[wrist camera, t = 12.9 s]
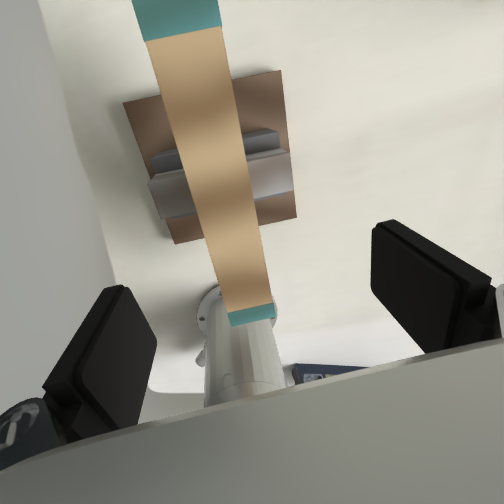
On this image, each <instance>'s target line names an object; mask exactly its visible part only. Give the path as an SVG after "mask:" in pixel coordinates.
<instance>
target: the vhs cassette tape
mask: <svg viewBox="0 0 504 504" xmlns="http://www.w3.org/2000/svg"><path fill="white" fill-rule="evenodd" d="M365 368H369V367H357V366H338V365H320V364H298V363H296V364H295V366H294V368H293V371H292V374H293V378H294V381H295V385H299V384H303V383H307V382H311V381H315V380H319V379H323V378H327V377H331V376H336V375H340V374H344V373H348V372H352V371H356V370H361V369H365Z"/></svg>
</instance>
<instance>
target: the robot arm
mask: <svg viewBox="0 0 504 504" xmlns="http://www.w3.org/2000/svg"><path fill="white" fill-rule="evenodd" d="M491 279H492V278H491V277H490V276H488V275H486V274H485V273H483V272H481V271H480V270H478V269H476V268H475V267H473V266H471V265H470V264H468V263H466V262H465V261H463V260H461V259H460V258H458V257H456V256H455V255H453V254H451V253H450V252H448V251H446V250H445V249H443V248H441V247H440V246H438V245H436V244H435V243H433V242H431V241H430V240H428V239H426V238H425V237H423V236H421V235H420V234H418V233H416V232H415V231H413V230H411V229H410V228H408V227H406V226H405V225H403V224H401V223H400V222H398V221H396V220H394V219H393V220H388V221H384V222H380V223H377V224H376V227H375V228H373V229H372V242H371V290H372V292H373V294H374V295H375V296H376V297H377V298H378V300H379V301H380V302H381V303H382V304H383V305H384V306H385V308H386V309H387V310H388V311H389V312H390V313H391V315H392V316H393V317H394V318H395V319H396V320H397V321H398V323H399V324H400V325H401V326H402V327H403V328H404V330H405V331H406V332H407V333H408V334H409V335H410V336H411V338H412V339H413V340H414V341H415V342H416V343H417V344H418V346H419V347H420V348H421V349H422V350H423V351H424V353H425V354H423V355H419V356H415V357H411V358H407V359H402V360H398V361H394V362H390V363H386V364H381V365H377V366H373V367H369V368H365V369H361V370H356V371H352V372H348V373H344V374H340V375H336V376H331V377H327V378H323V379H319V380H315V381H311V382H307V383H303V384H299V385H295V386H291V387H287V384H286V380H285V376H284V372H283V368H282V364H281V361H280V357H279V353H278V349H277V345H276V341H275V338H274V334H273V330H272V328H273V327H274V325H275V322H276V319H277V306H276V303H275V300H274V298H273V297H272V299H273V303H274V308H275V313H276V317H273V318H268V319H264V320H259V321H255V322H251V323H246V324H242V325H237V326H233V327H231V325H230V322H229V318H228V315H227V309H226V306H225V303H224V300H223V296H222V293H221V290H220V286H218V287H216V288H214V289H212V290H211V291H210V292H208V293H207V294H206V295H205V296H204V298H203V299H202V300H201V302H200V304H199V307H198V310H197V323H198V326H199V329H200V330H201V332H202V333H203V335H205V336H206V343H205V345H204V349H203V350H202V351H201V353H200V354H199V355H198V356H197V358H196V363H197V365H198V366H200V367H204V366H205V386H204V408H202V409H198V410H194V411H190V412H186V413H182V414H178V415H174V416H170V417H166V418H162V419H158V420H154V421H150V422H146V423H142V424H138V419H139V416H140V412H141V407H142V404H143V400H144V396H145V392H146V388H147V384H148V380H149V376H150V372H151V368H152V364H153V360H154V356H155V351H156V347H157V340H156V337H155V335H154V333H153V331H152V329H151V328H150V326H149V324H148V322H147V320H146V318H145V316H144V314H143V313H142V311H141V309H140V307H139V305H138V303H137V301H136V300H135V298H134V296H133V294H132V292H131V290H130V289H129V288H128V287H124V286H123V285H121V284H120V285H116V286H112V287H107V288H104V289H103V291H102V292H101V294H100V295H99V297H98V299H97V300H96V302H95V303H94V305H93V306H92V308H91V310H90V312H89V313H88V314H87V316H86V318H85V319H84V321H83V322H82V324H81V326H80V327H79V329H78V330H77V332H76V333H75V335H74V337H73V338H72V340H71V341H70V343H69V345H68V346H67V348H66V350H65V351H64V353H63V354H62V356H61V357H60V359H59V361H58V362H57V364H56V365H55V367H54V368H53V370H52V372H51V373H50V375H49V377H48V378H47V380H46V381H45V383H44V384H43V386H42V388H43V389H44V390H45V391H46V393H45V395H44V396H43V398H37V397H36V398H30V399H27V400H24V401H22V402H19V403H18V404H16V405H14V406H13V407H11V408H9V409H8V410H7V411H6V412H4V413H3V414H2V415H0V504H504V284H501V285H500V286H498V287H497V288H495V287H494V286H492V285H490V283H491ZM137 424H138V425H137Z"/></svg>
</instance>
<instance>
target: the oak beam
mask: <svg viewBox="0 0 504 504" xmlns="http://www.w3.org/2000/svg"><path fill="white" fill-rule="evenodd" d="M131 1H132V4H133V7H134V10H135V14H136V17H137V20H138V24H139V27H140V30H141V33H142V37H143V40H144V42H145V43H146V46H147V49H148V53H149V56H150V59H151V62H152V66H153V69H154V72H155V76H156V79H157V82H158V85H159V89H160V92H161V95H162V99H163V102H164V105H165V109H166V112H167V115H168V118H169V122H170V125H171V128H172V132H173V135H174V138H175V141H176V145H177V148H178V151H179V155H180V158H181V161H182V165H183V168H184V171H185V174H186V178H187V181H188V184H189V188H190V191H191V194H192V197H193V201H194V204H195V207H196V211H197V214H198V217H199V221H200V224H201V227H202V230H203V234H204V237H205V240H206V244H207V247H208V250H209V253H210V257H211V260H212V263H213V267H214V270H215V273H216V277H217V280H218V283H219V286H220V290H221V293H222V296H223V300H224V303H225V306H226V309H227V315H228V318H229V322H230V325H231V327H233V326H237V325H242V324H246V323H251V322H255V321H259V320H264V319H268V318H273V317H276V313H275V308H274V303H273V299H272V295H271V290H270V284H269V279H268V274H267V268H266V263H265V258H264V252H263V247H262V242H261V236H260V231H259V226H258V220H257V215H256V210H255V204H254V199H253V194H252V188H251V183H250V178H249V172H248V167H247V162H246V156H245V151H244V146H243V140H242V135H241V129H240V124H239V119H238V113H237V108H236V103H235V97H234V92H233V87H232V81H231V76H230V71H229V65H228V60H227V55H226V49H225V44H224V39H223V33H222V22H221V17H220V11H219V6H218V1H217V0H131Z"/></svg>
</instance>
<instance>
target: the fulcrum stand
mask: <svg viewBox="0 0 504 504" xmlns="http://www.w3.org/2000/svg"><path fill="white" fill-rule="evenodd" d="M231 81H232V87H233V92H234V97H235V103H236V108H237V113H238V119H239V124H240V129H241V135H242V140H243V146H244V151H245V156H246V162H247V167H248V172H249V178H250V183H251V188H252V194H253V199H254V204H255V210H256V215H257V220H258V226H261V225H265V224H270V223H275V222H279V221H284V220H288V219H293V218H297V215H296V206H295V196H294V187H293V177H292V168H291V159H290V149H289V140H288V131H287V121H286V112H285V103H284V93H283V84H282V75H281V70H278V71H273V72H269V73H264V74H259V75H254V76H249V77H245V78H240V79H235V80H231ZM123 105H124V108H125V111H126V113H127V116H128V119H129V122H130V124H131V127H132V130H133V132H134V135H135V138H136V140H137V143H138V146H139V149H140V151H141V154H142V157H143V159H144V162H145V165H146V168H147V170H148V173H149V176H150V178H151V180H150V181H149V182H148V183H147V184H148V186H149V189H150V191H151V194H152V197H153V199H154V202H155V205H156V207H157V210H158V213H159V215H160V218H161V219H164V218H165V219H166V222H167V224H168V227H169V230H170V232H171V235H172V238H173V240H174V243H175V244H179V243H184V242H188V241H193V240H197V239H202V238H205V237H204V234H203V230H202V227H201V224H200V221H199V217H198V214H197V211H196V207H195V204H194V201H193V197H192V194H191V191H190V188H189V184H188V181H187V178H186V174H185V171H184V168H183V165H182V161H181V158H180V155H179V151H178V148H177V145H176V141H175V138H174V135H173V132H172V128H171V125H170V122H169V118H168V115H167V112H166V109H165V105H164V102H163V99H162V95H158V96H154V97H149V98H144V99H139V100H134V101H130V102H125V103H123Z"/></svg>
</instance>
